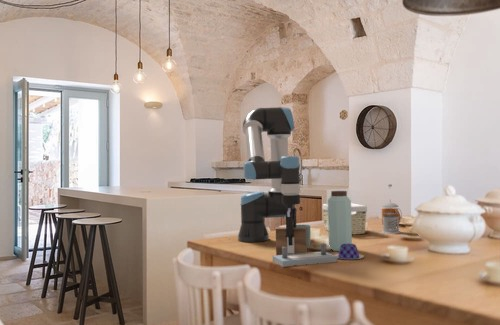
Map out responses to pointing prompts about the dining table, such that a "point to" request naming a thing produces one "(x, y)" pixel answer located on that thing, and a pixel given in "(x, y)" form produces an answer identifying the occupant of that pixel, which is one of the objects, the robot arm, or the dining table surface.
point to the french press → (391, 219)
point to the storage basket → (356, 218)
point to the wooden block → (299, 240)
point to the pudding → (348, 252)
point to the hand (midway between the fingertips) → (292, 251)
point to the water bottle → (339, 220)
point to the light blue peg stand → (304, 257)
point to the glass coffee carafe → (387, 210)
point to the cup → (307, 233)
